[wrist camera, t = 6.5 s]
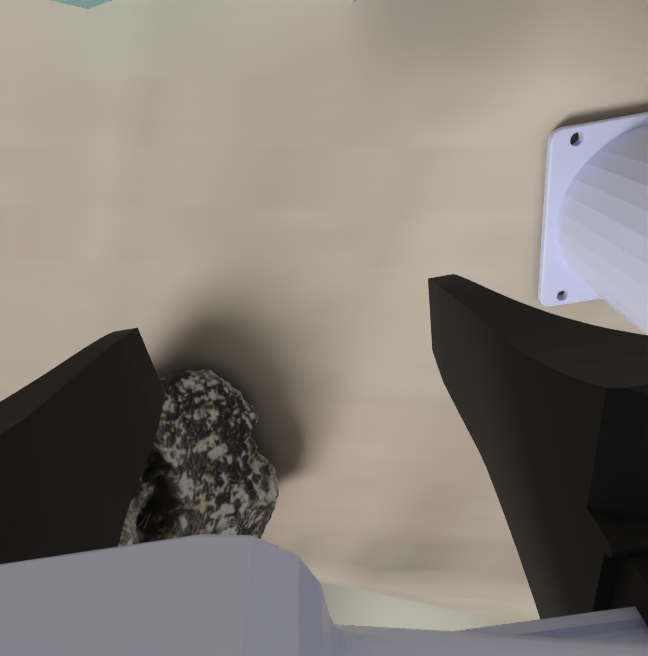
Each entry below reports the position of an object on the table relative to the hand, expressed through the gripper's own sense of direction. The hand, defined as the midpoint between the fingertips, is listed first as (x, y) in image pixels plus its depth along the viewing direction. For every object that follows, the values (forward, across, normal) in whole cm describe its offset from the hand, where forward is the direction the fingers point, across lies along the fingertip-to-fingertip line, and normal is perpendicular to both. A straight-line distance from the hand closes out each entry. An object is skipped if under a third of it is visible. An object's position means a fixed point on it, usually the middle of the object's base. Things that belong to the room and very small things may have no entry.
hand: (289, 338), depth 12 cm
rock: (+11, +9, +12) cm, 19 cm away
